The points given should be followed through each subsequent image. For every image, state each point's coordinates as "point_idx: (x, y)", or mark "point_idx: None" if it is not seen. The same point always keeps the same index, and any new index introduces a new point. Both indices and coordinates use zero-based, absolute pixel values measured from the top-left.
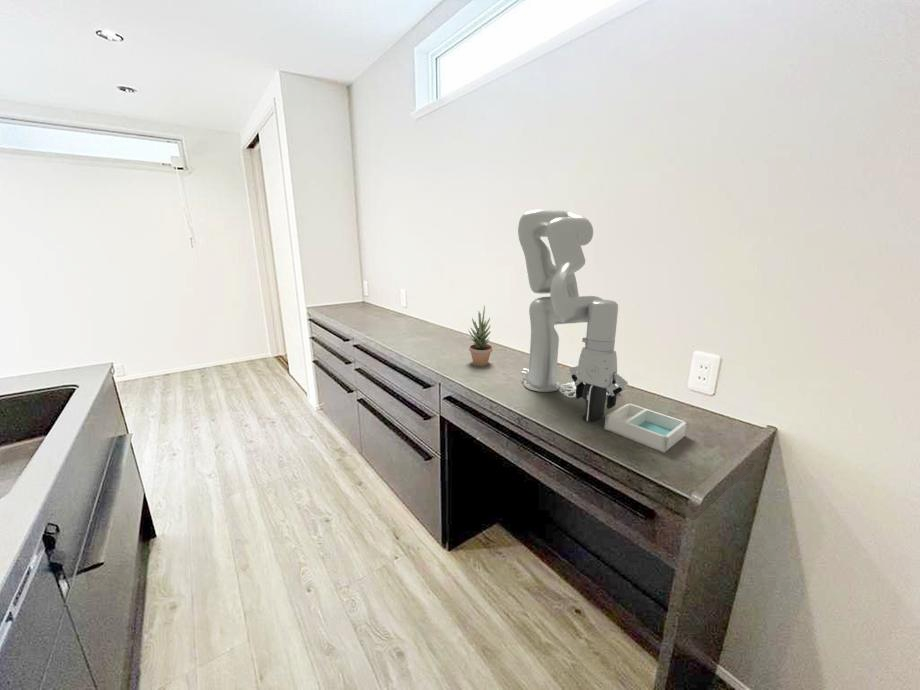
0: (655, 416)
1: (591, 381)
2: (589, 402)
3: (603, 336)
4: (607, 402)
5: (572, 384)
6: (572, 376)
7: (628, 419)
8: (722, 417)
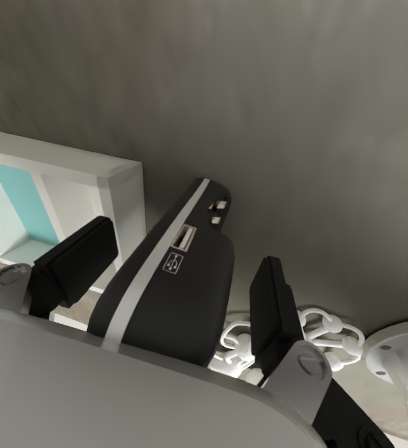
0: None
1: (81, 403)
2: (178, 215)
3: None
4: (86, 234)
5: None
6: None
7: (48, 197)
8: (63, 314)
